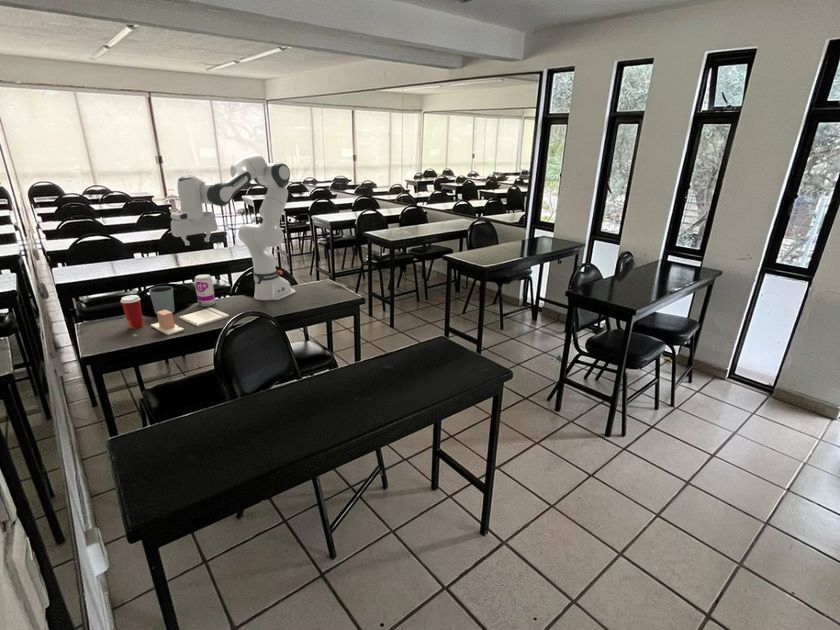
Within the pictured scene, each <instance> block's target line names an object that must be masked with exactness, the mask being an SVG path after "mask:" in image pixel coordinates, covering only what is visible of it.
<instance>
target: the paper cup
mask: <svg viewBox="0 0 840 630" xmlns="http://www.w3.org/2000/svg"><path fill="white" fill-rule="evenodd" d="M119 302H120V303H121V305H122V309H123V311H124V315H125V318H126V322H127V324H128V328H129V329H132V330H133V329H134V330H135V329H136V330H137V329H140V328H142V327H144V318H143V313H142V307H141V305H142V304H141V298H140V296H139V295H137V294H130V295H126V296H122V297H121V299H120V301H119Z"/></svg>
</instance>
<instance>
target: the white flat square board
mask: <svg viewBox="0 0 840 630" xmlns="http://www.w3.org/2000/svg"><path fill="white" fill-rule="evenodd" d="M229 317H230V315H229V314H228V313H225V312H223V311H221V310H218V309H216V308H213V307H208V308H204V309H201V310H198V311H194V312H192V313H187V314H184V315H180V316H179V319H180V320H182V321H184V322H186V323H189V324H191V325H193V326H194V327H201V326H206V325H208V324H211V323H214V322H217V321H221V320H224V319H227V318H229Z"/></svg>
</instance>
